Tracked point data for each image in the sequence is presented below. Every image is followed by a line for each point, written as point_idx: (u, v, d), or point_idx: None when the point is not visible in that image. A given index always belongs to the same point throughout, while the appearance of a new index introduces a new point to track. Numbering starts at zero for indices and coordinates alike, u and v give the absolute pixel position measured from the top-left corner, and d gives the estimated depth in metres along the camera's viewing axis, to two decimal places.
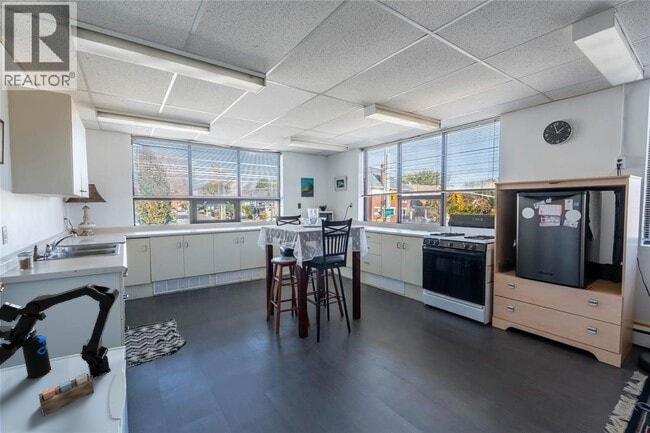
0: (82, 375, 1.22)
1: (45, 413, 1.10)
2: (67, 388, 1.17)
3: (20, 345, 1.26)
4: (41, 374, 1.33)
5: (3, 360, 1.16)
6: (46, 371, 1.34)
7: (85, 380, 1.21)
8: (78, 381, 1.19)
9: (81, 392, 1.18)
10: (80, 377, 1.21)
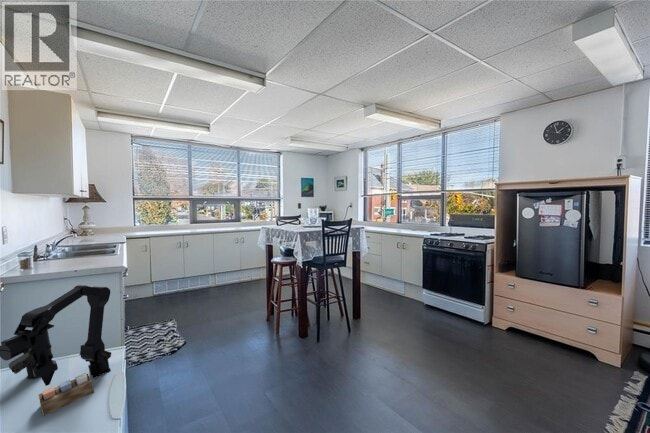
0: (82, 375, 1.22)
1: (45, 413, 1.10)
2: (67, 388, 1.17)
3: None
4: None
5: (50, 376, 1.10)
6: None
7: (85, 380, 1.21)
8: (78, 381, 1.19)
9: (81, 392, 1.18)
10: (80, 377, 1.21)
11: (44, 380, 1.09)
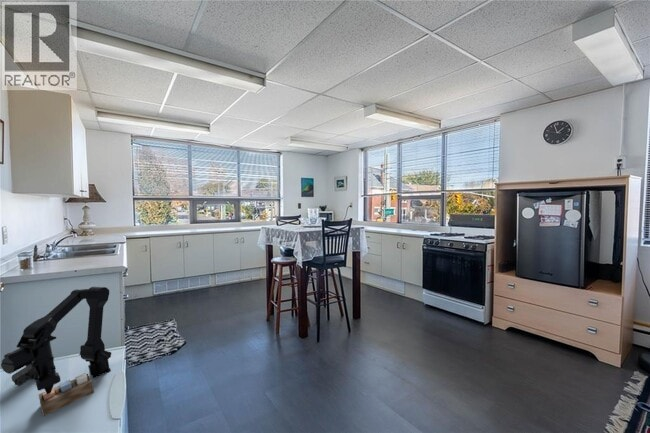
0: (82, 375, 1.22)
1: (45, 413, 1.10)
2: (67, 388, 1.17)
3: None
4: None
5: None
6: None
7: (85, 380, 1.21)
8: (78, 381, 1.19)
9: (81, 392, 1.18)
10: (80, 377, 1.21)
11: (45, 388, 1.12)
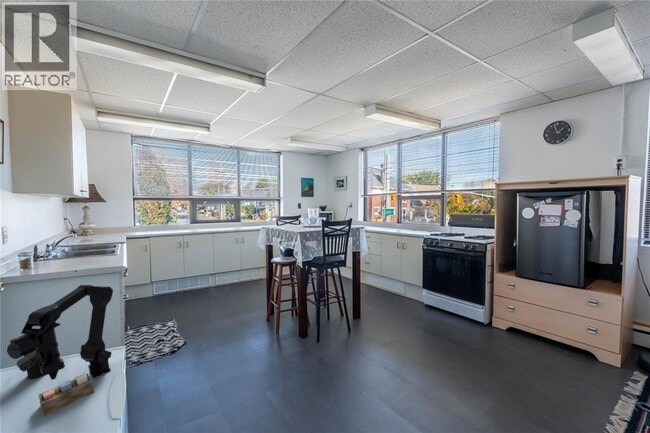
0: (82, 375, 1.22)
1: (45, 413, 1.10)
2: (67, 388, 1.17)
3: None
4: (41, 374, 1.33)
5: (56, 370, 1.14)
6: None
7: (85, 380, 1.21)
8: (78, 381, 1.19)
9: (81, 392, 1.18)
10: (80, 377, 1.21)
11: (50, 374, 1.13)
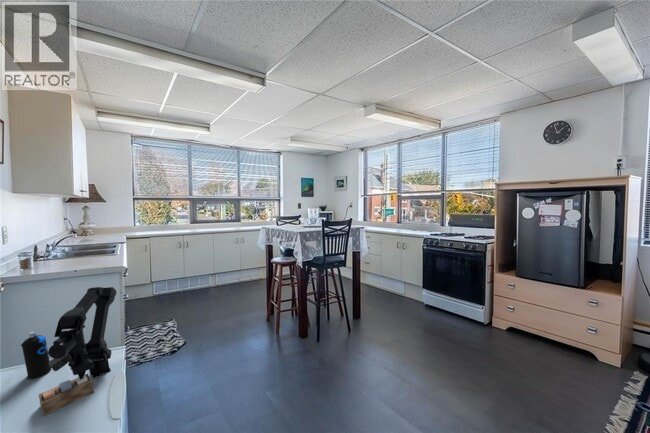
0: None
1: (45, 413, 1.10)
2: (67, 388, 1.17)
3: None
4: (41, 374, 1.33)
5: None
6: (46, 371, 1.34)
7: None
8: (78, 383, 1.19)
9: (81, 392, 1.18)
10: (80, 379, 1.21)
11: (79, 374, 1.20)
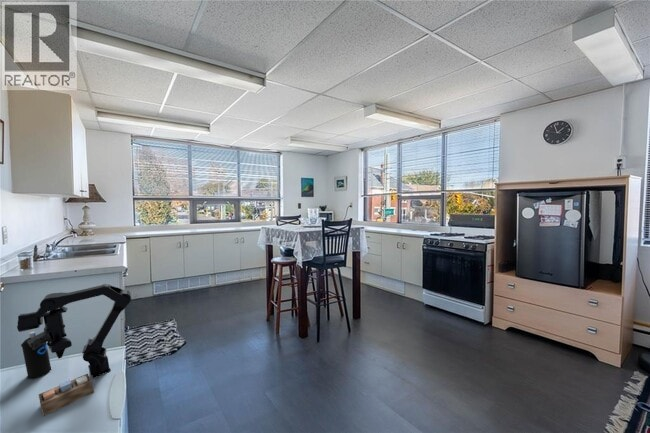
0: (82, 377, 1.22)
1: (45, 413, 1.10)
2: (67, 388, 1.17)
3: None
4: (41, 374, 1.33)
5: (62, 349, 1.25)
6: (46, 371, 1.34)
7: None
8: (78, 383, 1.19)
9: (81, 392, 1.18)
10: (80, 379, 1.21)
11: (57, 353, 1.24)
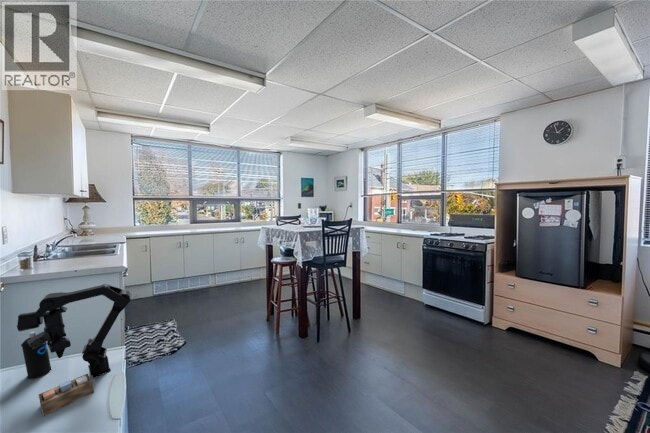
0: (82, 377, 1.22)
1: (45, 413, 1.10)
2: (67, 388, 1.17)
3: None
4: (41, 374, 1.33)
5: (62, 349, 1.26)
6: (46, 371, 1.34)
7: None
8: (78, 383, 1.19)
9: (81, 392, 1.18)
10: (80, 379, 1.21)
11: (57, 353, 1.25)
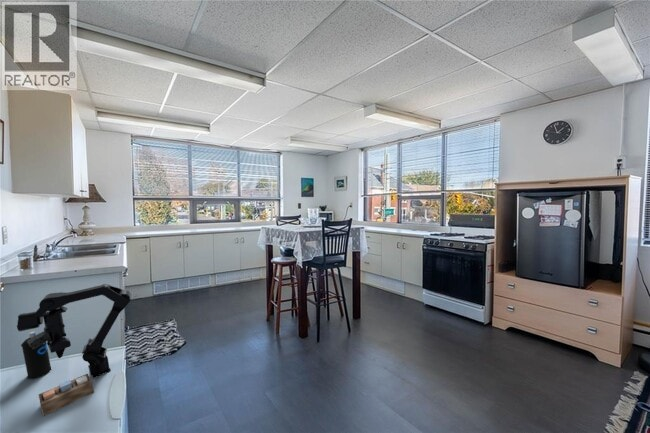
0: (82, 377, 1.22)
1: (45, 413, 1.10)
2: (67, 388, 1.17)
3: None
4: (41, 374, 1.33)
5: (62, 349, 1.26)
6: (46, 371, 1.34)
7: None
8: (78, 383, 1.19)
9: (81, 392, 1.18)
10: (80, 379, 1.21)
11: (57, 353, 1.25)
